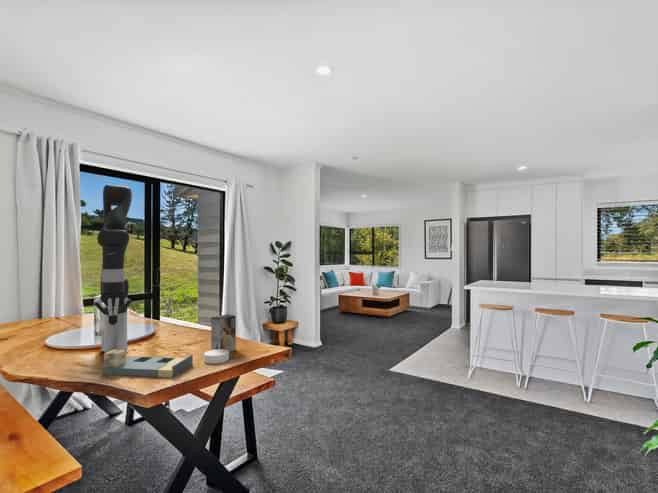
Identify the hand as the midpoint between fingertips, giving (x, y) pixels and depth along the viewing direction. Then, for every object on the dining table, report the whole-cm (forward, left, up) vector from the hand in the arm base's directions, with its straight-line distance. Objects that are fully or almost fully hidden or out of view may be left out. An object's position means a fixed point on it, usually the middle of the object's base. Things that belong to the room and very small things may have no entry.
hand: (112, 324), depth 136 cm
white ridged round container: (+36, +14, -17) cm, 43 cm away
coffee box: (+34, +26, -17) cm, 46 cm away
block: (+4, -3, -14) cm, 15 cm away
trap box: (+15, 0, -17) cm, 23 cm away
